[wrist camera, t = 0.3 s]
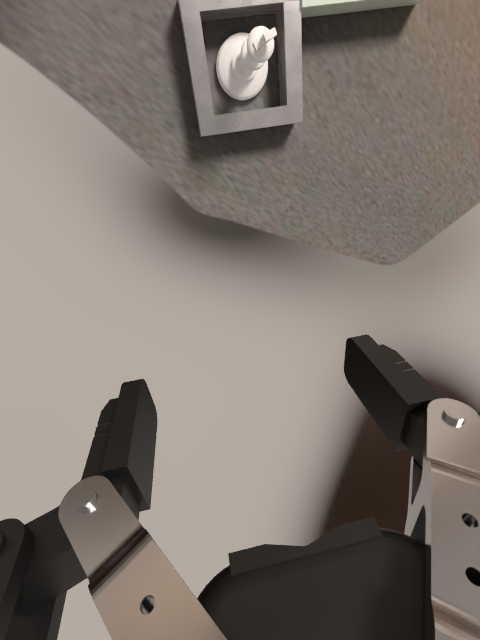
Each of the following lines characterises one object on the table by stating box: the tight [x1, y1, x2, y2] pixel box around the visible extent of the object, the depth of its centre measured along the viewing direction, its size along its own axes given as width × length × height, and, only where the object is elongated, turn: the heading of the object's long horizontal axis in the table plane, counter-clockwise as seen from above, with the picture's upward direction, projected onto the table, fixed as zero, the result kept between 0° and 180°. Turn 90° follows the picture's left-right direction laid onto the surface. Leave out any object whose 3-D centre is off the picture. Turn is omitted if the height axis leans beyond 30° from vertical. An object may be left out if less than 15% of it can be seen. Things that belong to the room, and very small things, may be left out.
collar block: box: [177, 0, 303, 137], centre depth 27 cm, size 10×10×2 cm
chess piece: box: [216, 26, 277, 100], centre depth 24 cm, size 5×5×10 cm
